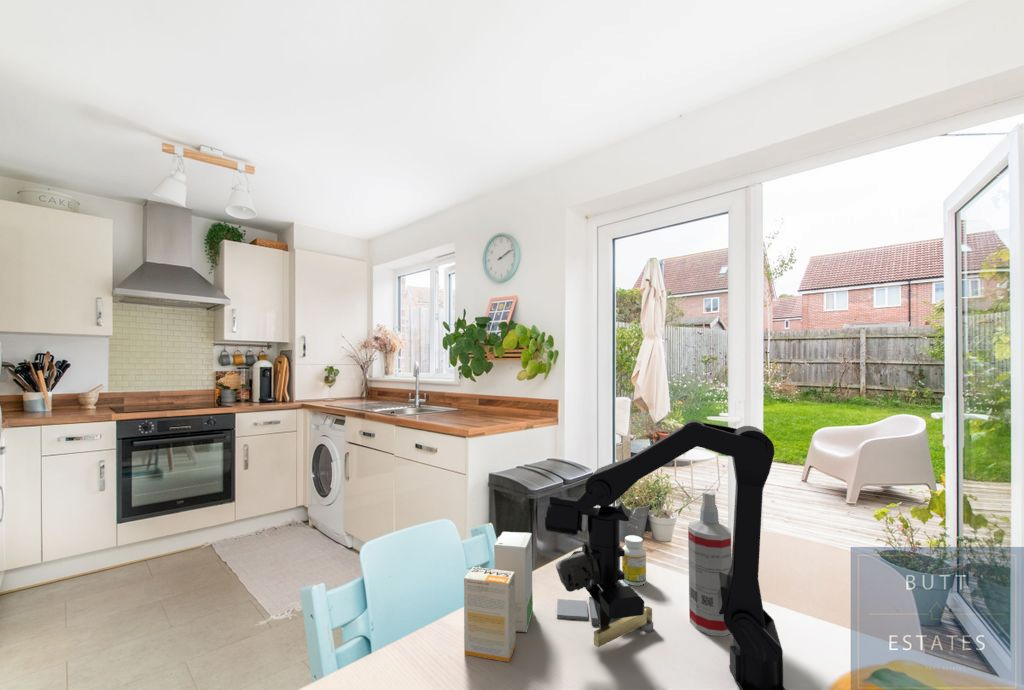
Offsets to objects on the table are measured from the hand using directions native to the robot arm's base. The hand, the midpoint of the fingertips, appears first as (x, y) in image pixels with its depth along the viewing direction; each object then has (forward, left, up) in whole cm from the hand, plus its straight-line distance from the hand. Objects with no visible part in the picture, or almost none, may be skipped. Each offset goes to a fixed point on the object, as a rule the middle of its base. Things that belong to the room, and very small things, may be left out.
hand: (603, 628), depth 80 cm
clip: (-4, -2, -1) cm, 4 cm away
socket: (-3, -9, -3) cm, 10 cm away
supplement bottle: (-9, -25, -3) cm, 27 cm away
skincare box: (+17, -6, -3) cm, 18 cm away
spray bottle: (-21, -9, -3) cm, 23 cm away
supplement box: (+20, +4, -3) cm, 20 cm away
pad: (+5, -10, -3) cm, 12 cm away
